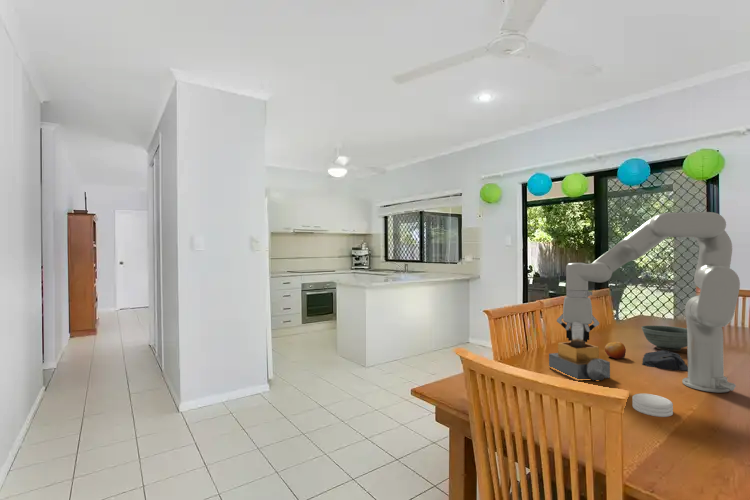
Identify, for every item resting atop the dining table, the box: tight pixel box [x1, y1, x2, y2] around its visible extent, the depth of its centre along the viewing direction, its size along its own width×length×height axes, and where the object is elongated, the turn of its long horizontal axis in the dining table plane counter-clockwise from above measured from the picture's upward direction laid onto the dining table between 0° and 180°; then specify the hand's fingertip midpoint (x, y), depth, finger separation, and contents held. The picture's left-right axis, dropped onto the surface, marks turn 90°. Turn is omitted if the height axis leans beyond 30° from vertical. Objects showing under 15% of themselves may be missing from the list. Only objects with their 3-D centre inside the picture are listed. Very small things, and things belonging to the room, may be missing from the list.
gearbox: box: [548, 341, 611, 381], centre depth 150 cm, size 18×14×11 cm
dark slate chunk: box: [641, 349, 688, 372], centre depth 164 cm, size 15×22×5 cm
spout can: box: [569, 322, 586, 348], centre depth 151 cm, size 5×5×12 cm
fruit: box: [604, 341, 626, 360], centre depth 172 cm, size 8×8×8 cm
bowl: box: [641, 325, 687, 352], centre depth 184 cm, size 21×21×10 cm
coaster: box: [631, 393, 674, 418], centre depth 116 cm, size 10×10×4 cm
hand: (577, 340), depth 151 cm, fingers closed on spout can, 5 cm apart
